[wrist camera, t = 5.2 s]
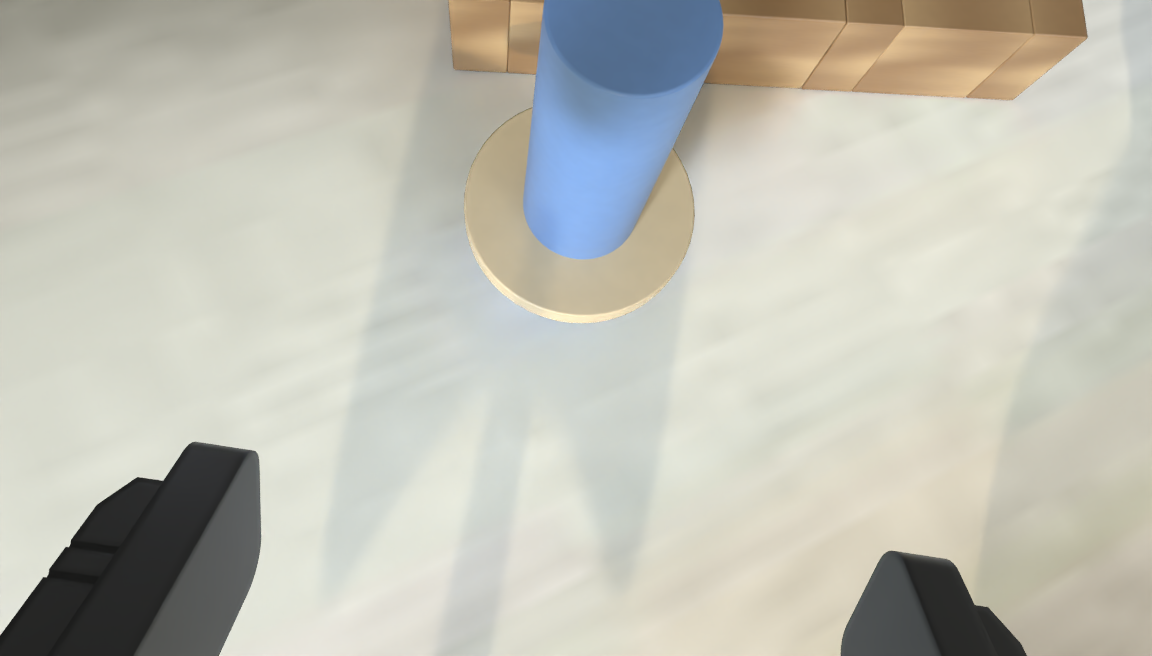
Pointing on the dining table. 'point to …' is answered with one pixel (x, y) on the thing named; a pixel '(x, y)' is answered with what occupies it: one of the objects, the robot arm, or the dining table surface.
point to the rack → (830, 43)
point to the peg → (595, 160)
